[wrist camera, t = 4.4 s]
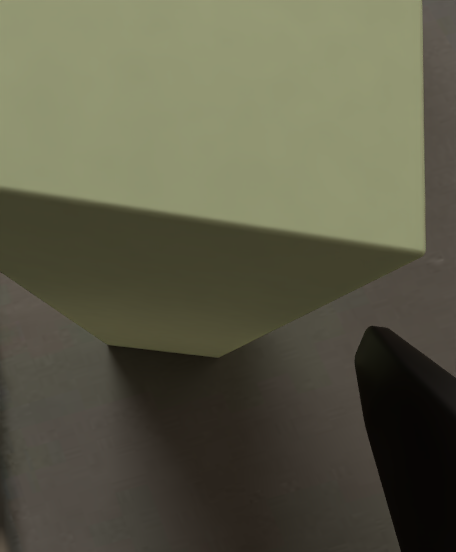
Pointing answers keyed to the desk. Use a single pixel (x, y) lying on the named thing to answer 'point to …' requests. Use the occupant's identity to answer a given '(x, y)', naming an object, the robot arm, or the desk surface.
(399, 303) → the desk surface
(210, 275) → the sage green pillar
